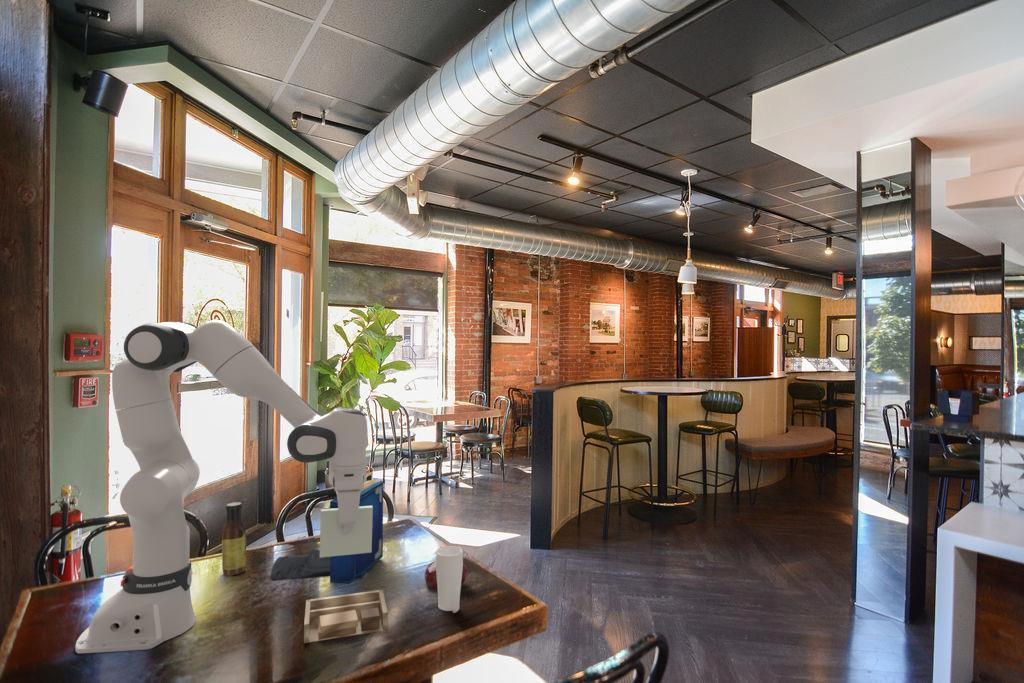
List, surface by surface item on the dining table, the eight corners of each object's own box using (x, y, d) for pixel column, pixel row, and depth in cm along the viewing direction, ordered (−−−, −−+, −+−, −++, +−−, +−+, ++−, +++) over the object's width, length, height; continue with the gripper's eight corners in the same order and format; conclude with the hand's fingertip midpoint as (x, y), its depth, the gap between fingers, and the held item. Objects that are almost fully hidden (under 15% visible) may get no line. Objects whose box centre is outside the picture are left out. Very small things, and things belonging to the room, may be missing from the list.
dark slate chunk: (276, 562, 163) (277, 546, 163) (351, 556, 169) (351, 541, 169) (267, 583, 149) (267, 566, 149) (348, 576, 154) (349, 559, 154)
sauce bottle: (250, 571, 156) (251, 503, 156) (229, 578, 150) (230, 508, 150) (237, 565, 159) (239, 499, 159) (216, 573, 154) (218, 504, 154)
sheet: (319, 557, 126) (320, 511, 126) (319, 555, 127) (320, 509, 127) (371, 552, 130) (372, 507, 130) (370, 550, 131) (372, 505, 131)
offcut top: (320, 633, 117) (320, 626, 117) (319, 622, 122) (319, 616, 122) (357, 626, 121) (358, 619, 121) (355, 616, 125) (355, 609, 125)
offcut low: (318, 639, 118) (318, 632, 118) (318, 628, 122) (318, 621, 122) (355, 633, 120) (355, 626, 120) (354, 622, 125) (354, 616, 125)
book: (349, 590, 144) (350, 498, 145) (325, 587, 146) (327, 496, 146) (383, 559, 166) (384, 479, 166) (362, 557, 167) (364, 477, 167)
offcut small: (361, 631, 121) (361, 618, 121) (360, 622, 125) (360, 610, 125) (379, 628, 123) (379, 615, 123) (377, 620, 126) (378, 607, 126)
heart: (419, 577, 151) (426, 597, 142) (421, 552, 150) (428, 570, 141) (460, 573, 155) (469, 592, 146) (462, 548, 154) (471, 565, 145)
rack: (303, 648, 116) (304, 624, 116) (305, 621, 128) (306, 599, 128) (387, 634, 122) (387, 612, 122) (382, 610, 133) (382, 589, 134)
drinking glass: (451, 601, 139) (452, 543, 139) (467, 610, 134) (468, 551, 134) (429, 609, 134) (430, 550, 134) (446, 619, 129) (447, 558, 129)
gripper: (333, 465, 138) (332, 519, 137) (334, 485, 118) (332, 547, 118) (358, 464, 140) (357, 517, 139) (364, 483, 120) (362, 544, 120)
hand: (346, 531), depth 129 cm, fingers closed on sheet, 2 cm apart
